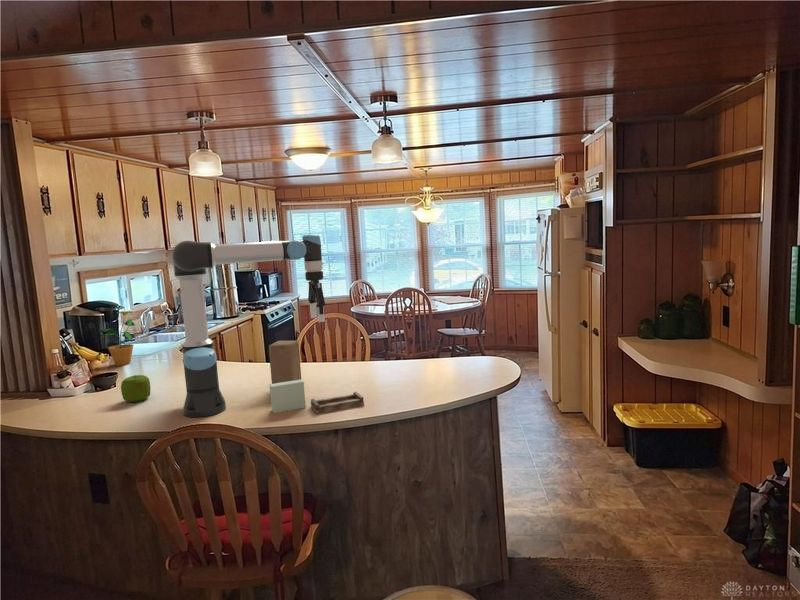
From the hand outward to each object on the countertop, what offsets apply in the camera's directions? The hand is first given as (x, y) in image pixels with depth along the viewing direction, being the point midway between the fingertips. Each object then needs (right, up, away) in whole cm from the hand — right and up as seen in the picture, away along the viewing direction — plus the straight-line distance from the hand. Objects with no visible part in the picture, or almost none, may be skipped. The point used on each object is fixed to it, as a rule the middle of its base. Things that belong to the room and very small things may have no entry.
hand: (317, 319), depth 229 cm
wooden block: (-13, -29, -2) cm, 32 cm away
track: (+12, -31, -30) cm, 45 cm away
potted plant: (-118, -27, +64) cm, 137 cm away
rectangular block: (-6, -32, -30) cm, 45 cm away
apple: (-74, -34, -8) cm, 82 cm away
